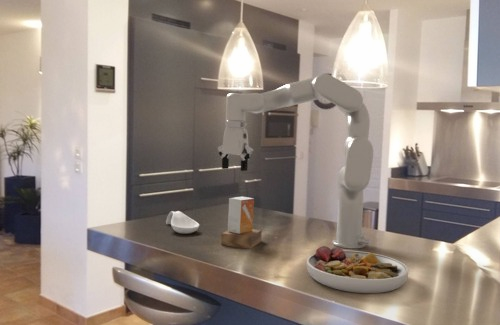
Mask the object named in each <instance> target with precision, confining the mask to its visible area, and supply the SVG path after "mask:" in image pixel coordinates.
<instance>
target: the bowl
mask: <svg viewBox="0 0 500 325" xmlns="http://www.w3.org/2000/svg"><path fill="white" fill-rule="evenodd" d="M306 268H307V271H308V273H309V275H310V276H311V277H312V279H314V280H315V281H316V282H318V283H320V284H321V285H324V286H326V287H328V288H331V289H335V290H339V291H344V292H349V293H357V294H381V293H388V292H390V291H394V290H396V289H397V290H398V288H400V287H402V286H403V285H404V284H405V283H406V281H407V280H408V277H409V270H410V269H409V267H408V266H407V265H406V264H405V263H403V262H402V261H400V260H397V259H396V258H392V257H390V256H386V255H382V254H378V253H373V252H367V251H358V250H343V249H342V247H338V246H334V247H333V248H330V247H328V246H325V245H323V246H320V247H319V248H317V249H316V251H315V253H313V254H312V255H310V256H308V257H307V259H306Z"/></svg>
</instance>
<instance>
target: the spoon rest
mask: <svg viewBox="0 0 500 325" xmlns="http://www.w3.org/2000/svg"><path fill="white" fill-rule="evenodd" d="M165 225H170V226H171V228H172V230H174V232H176V233H177V234H181V235H183V234H185V235H187V234H192V233H194V232H196V231H197V230H198V229H199V227H200V223H198V222H197V221H196V220H194V219H193V218H191V217H189V216H188V215H186V214H184V213H183V212H182V211H180V210H177V211H173V210H171V211H170V212H169V213H168V215H167V217H166V220H165Z"/></svg>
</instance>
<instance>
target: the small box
mask: <svg viewBox="0 0 500 325" xmlns="http://www.w3.org/2000/svg"><path fill="white" fill-rule="evenodd" d="M254 206H255V198H254V197H248V196H235V197H230V198H228V217H227V218H228V219H227V230H228V231H229V232H233V233H238V234H241V233H245V232H250V231H252V229H254V226H253V225H254Z"/></svg>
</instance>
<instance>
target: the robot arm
mask: <svg viewBox="0 0 500 325" xmlns="http://www.w3.org/2000/svg"><path fill="white" fill-rule="evenodd" d="M321 99H325V100H326V101H328V102H330V103H332V104H333V105H336V107H337V109H338V110H339V111H340V112H342V113H343V114H344V116H345V118H346V132H345V139H344V144H343V154H344V156H345V158H346V159H345V165H344V166H342V168H341V169H340V170H339V172H338V175H337V185H338V186H337V187H338V189H337V190H338V193H337V194H338V196H337V197H338V199H337V200H338V201H337V218H336V219H337V220H336V237H335V238H334V239H333V240H332V241H331V242H332V243H331V244H332V245H334V247H338V248H341V249H342V248H344V249H354V250H355V249H362V248H364V247H365V246H366V245H368V246H370V245H371V243H372V242H371V238H366V237H365V234H363V233H362V232H363V231H362V230H363V212H364V211H363V208H364V190H365V189H367V187H368V185H369V183H370V179H371V174H372V168H373V159H374V148H373V147H374V146H373V145H372V142H371V141H370V140H369V134H370V124H371V123H370V121H371V120H370V114H369V110H368V109H367V106H366V105H365V103H364V96H363V95H362V93H361V92H360V91H359V90H358V89H356V88H354V87H353V86H351V85H349V84H347V83H345V82H343V81H342V80H340V79H338V78H336V77H335V76H333V75H331V74H328V73H321V74H319V75H317V76H314V77H311V78H307V79H303V80H298V81H294V82H289V83H286V84H285V85H283V86H280V87H278V88H276V89H273V90H269V91H265V92H262V93H258V92H253V93H239V92H238V93H237V92H230V93H228V94H227V95H226V102H225V103H226V108H225V109H226V110H225V129H224V132H223V138H222V144H221V145H219V146H217V151H218V154H219V156H220V159H221V169H223V170H226V169H227V170H228V169H229V166H230V165H229V162H230V161H229V160H230V159H229V156H230V155H232V156H240V158H241V159H242V160H240V171H241V172H244V171H245V172H246V171H248V163H249V162H248V161H249V160H250V158H251V157H252V154H253V152H254V149H253V148H252V147H250V146H249V135H248V130H247V129H246V127H247V126H248V123H247V122H246V117H247V116H246V112H248V113H252V114H260V113H261V114H262V113H265V112H269V111H273V110H277V109H281V108H287V107H293V106H296V105H301V104H304V103H309V102H312V101H317V100H321Z"/></svg>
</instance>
